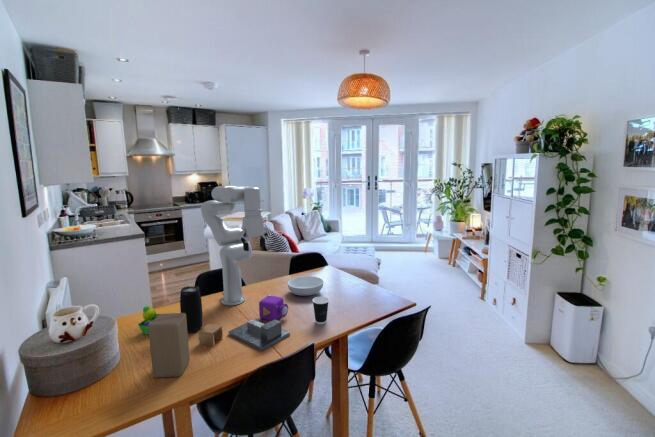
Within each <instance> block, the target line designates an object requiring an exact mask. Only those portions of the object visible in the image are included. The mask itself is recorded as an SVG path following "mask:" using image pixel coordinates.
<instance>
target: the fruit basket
mask: <svg viewBox="0 0 655 437" xmlns="http://www.w3.org/2000/svg"><path fill="white" fill-rule="evenodd" d="M159 314H160V313H157V311H156V310H155V309H154V308H153V307H151V306H149V305H145V306H144V307H143V309H142V318H143V319H144V320H142V321H141V322H139V323H138V324H137V326H138V327H139V328H140V331H141V333H142V335H146V334H149V330H148V327H149V325H150V324H151V322H152V321H153V320H154V319H155V318H156V317H157V316H158V315H159ZM144 333H145V334H144Z"/></svg>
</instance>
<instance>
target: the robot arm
mask: <svg viewBox="0 0 655 437" xmlns="http://www.w3.org/2000/svg"><path fill="white" fill-rule="evenodd" d="M211 197H212V200H207V201H204V202H203V203H201V207H200V212H201V216H202V219H203V220H204V222H205V223H206V224H207V225H208V227H209V228H210V231H211V233H212V235H213V237H214V241H216V243H217V245H218V246H220V247H221V248H220V250H219V258H220V263H221V267H222V280H223V281H222V284H223V291H222V292H221V295H222V296H223V298H222V299H221V301H220V302H221V304H222V305H224V306H236V305H240V304H243V303H244V302H245V300H246V297H245V296H244V295H243V289H242V287H243V285H242V284H243V283H242V270H241V267H240V266H239V265H238V264H237V262H241V261H246V260H249V259H251V257H253V252H254V251H253V248H252V245H251V243H250V241H249V240H250V239H253V238H258V237H259V247H261V248H266V239H267V236H268V234H269V228H268V227H265V225H264V224H265V223H264V219H263V215H262V213H263V210H262V208H261V190H260V188H259V187H255V186H250V185H245V186H236V185H219V186H215V187H214V188H213V189H212V190H211ZM237 203H243V206H244V207H243V208H244V210H243V211H244V216H243V218H242V223H241V225H242V227H228V226H227V224H226V222H225V221H224V220H223V218H221V217H219V216H221V215H228V214H232V213H233V211H234V210H235V208H236V205H237ZM218 215H219V216H218Z"/></svg>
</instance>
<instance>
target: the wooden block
mask: <svg viewBox="0 0 655 437" xmlns="http://www.w3.org/2000/svg"><path fill="white" fill-rule="evenodd" d="M158 314H159V315H158V316H157V317H156V318H155V319H154V320H153V321H152V322H151V324H150V325H149V327H148V330H149V335H148V338H149V347H150V356H151V357H150V359H151V367H152V368H151V369H152V376H153V378H154V379H155V378H171V377H172V378H173V377H175V378H176V377H180V376H182V375H183V373H184V372H185V369H186V368H187V366H188V364H189V363H190V359H191V358H190V346H189V334H188V331H187V320H186V314H185V313H181V312H176V313H175V312H173V313H172V312H171V313H158Z"/></svg>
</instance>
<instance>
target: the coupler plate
mask: <svg viewBox="0 0 655 437" xmlns="http://www.w3.org/2000/svg"><path fill="white" fill-rule="evenodd" d="M228 336H231V337H232V338H235V339H236V340H239V341H241V342H242V343H244V344H247V345H249V346H251V347H252V348H255V349H257V350H259V351H261V352H263V351H265V350H267V349H268V348H270V347H272V346H274V345H275V344H277V343H278V342H281V341H282V340H285V339H286V338H287V337H290V336H291V331H288V330H286V329H284V328H282V321H280V320H279V319H277V320H275V319H274V320H272V321H270V320H269V321H268V322H267V321H265V320H263V319H261V318H255V319H254V318H252V319H250V320H248V321H246V322H245V323H243V324H241V325H240V326H237V327H235V328H233V329H231V330H229V331H228Z"/></svg>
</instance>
